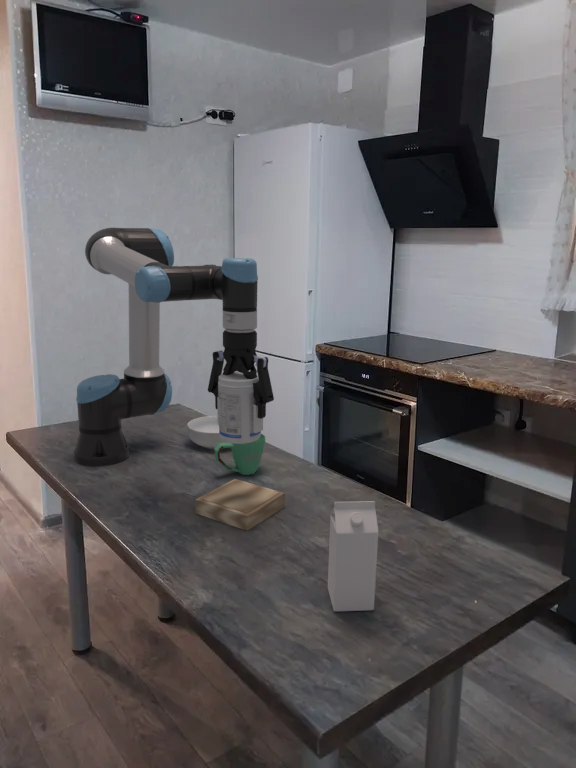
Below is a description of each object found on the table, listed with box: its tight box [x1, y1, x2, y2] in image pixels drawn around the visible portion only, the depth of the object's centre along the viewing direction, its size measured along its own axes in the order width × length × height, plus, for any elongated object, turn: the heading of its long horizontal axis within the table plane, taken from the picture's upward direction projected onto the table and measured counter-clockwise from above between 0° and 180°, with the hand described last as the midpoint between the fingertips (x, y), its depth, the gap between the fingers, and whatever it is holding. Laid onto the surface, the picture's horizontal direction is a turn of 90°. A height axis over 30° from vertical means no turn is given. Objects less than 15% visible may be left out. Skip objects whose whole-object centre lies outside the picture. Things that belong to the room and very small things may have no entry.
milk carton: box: [327, 500, 379, 612], centre depth 105 cm, size 7×7×19 cm
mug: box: [213, 433, 266, 476], centre depth 163 cm, size 15×10×10 cm
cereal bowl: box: [186, 415, 228, 450], centre depth 185 cm, size 17×17×7 cm
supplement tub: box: [218, 371, 262, 444], centre depth 136 cm, size 10×10×15 cm
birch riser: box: [194, 478, 286, 532], centre depth 142 cm, size 15×15×4 cm
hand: (240, 427), depth 137 cm, fingers closed on supplement tub, 9 cm apart
